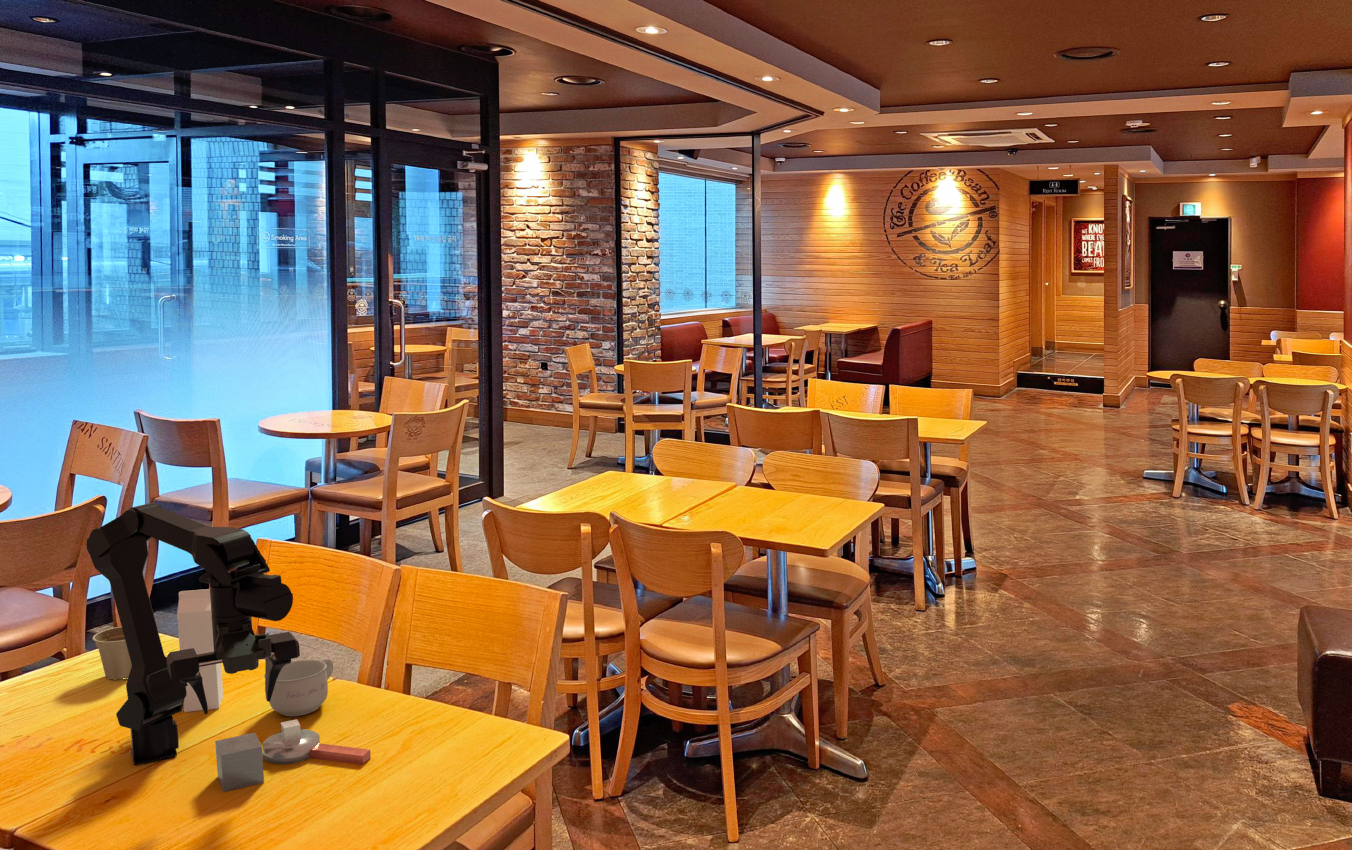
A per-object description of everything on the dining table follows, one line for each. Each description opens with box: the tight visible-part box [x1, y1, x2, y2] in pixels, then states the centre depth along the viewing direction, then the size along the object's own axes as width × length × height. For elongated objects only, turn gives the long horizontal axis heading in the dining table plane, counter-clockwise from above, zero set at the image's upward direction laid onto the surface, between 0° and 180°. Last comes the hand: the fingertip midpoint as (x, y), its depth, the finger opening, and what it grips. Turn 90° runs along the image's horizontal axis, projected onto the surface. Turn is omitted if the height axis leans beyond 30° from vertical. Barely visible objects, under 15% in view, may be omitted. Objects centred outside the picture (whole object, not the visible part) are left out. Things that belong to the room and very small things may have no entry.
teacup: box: [264, 657, 334, 717], centre depth 198 cm, size 14×11×8 cm
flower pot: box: [92, 626, 132, 680], centre depth 213 cm, size 9×9×9 cm
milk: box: [176, 588, 224, 713], centre depth 198 cm, size 6×6×22 cm
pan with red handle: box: [262, 719, 372, 765], centre depth 178 cm, size 18×9×5 cm, turn 76°
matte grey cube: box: [214, 732, 265, 793], centre depth 170 cm, size 6×6×6 cm
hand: (237, 706), depth 169 cm, fingers open, 9 cm apart
